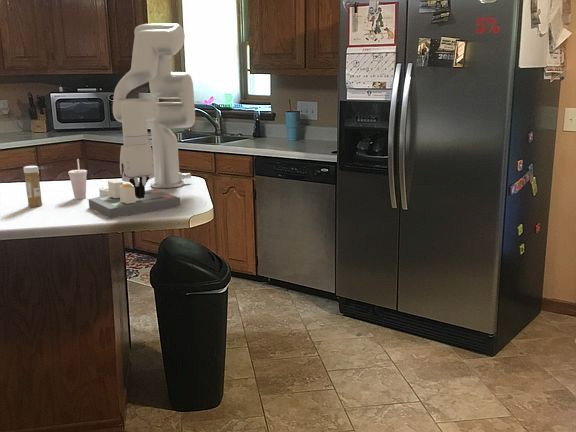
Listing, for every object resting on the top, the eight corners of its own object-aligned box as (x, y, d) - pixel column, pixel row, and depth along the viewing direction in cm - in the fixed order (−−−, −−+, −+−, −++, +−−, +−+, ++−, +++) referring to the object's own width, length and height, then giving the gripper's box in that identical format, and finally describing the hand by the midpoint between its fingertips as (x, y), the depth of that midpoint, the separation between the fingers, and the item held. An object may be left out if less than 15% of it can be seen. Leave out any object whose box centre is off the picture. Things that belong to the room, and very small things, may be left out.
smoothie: (83, 200, 216) (80, 160, 212) (67, 199, 217) (63, 160, 214) (93, 196, 222) (89, 157, 218) (76, 195, 223) (72, 157, 220)
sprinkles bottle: (42, 206, 207) (38, 166, 204) (28, 208, 206) (23, 167, 202) (42, 203, 211) (37, 164, 208) (27, 205, 210) (22, 165, 206)
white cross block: (95, 199, 218) (94, 189, 217) (106, 192, 230) (105, 182, 229) (129, 199, 217) (128, 189, 217) (138, 192, 229) (137, 182, 228)
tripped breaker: (129, 199, 200) (127, 182, 199) (135, 202, 196) (134, 185, 195) (120, 201, 199) (118, 183, 197) (126, 203, 195) (125, 186, 193)
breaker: (117, 194, 208) (116, 179, 207) (123, 197, 204) (122, 182, 203) (109, 195, 206) (107, 181, 205) (115, 198, 203) (113, 183, 201)
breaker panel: (156, 197, 219) (155, 188, 218) (180, 206, 205) (179, 197, 204) (89, 207, 205) (88, 198, 204) (110, 218, 191) (109, 208, 190)
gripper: (152, 137, 202) (156, 192, 207) (108, 141, 194) (113, 199, 198) (162, 139, 197) (166, 196, 201) (117, 144, 188) (122, 203, 192)
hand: (140, 197), depth 200 cm, fingers closed
